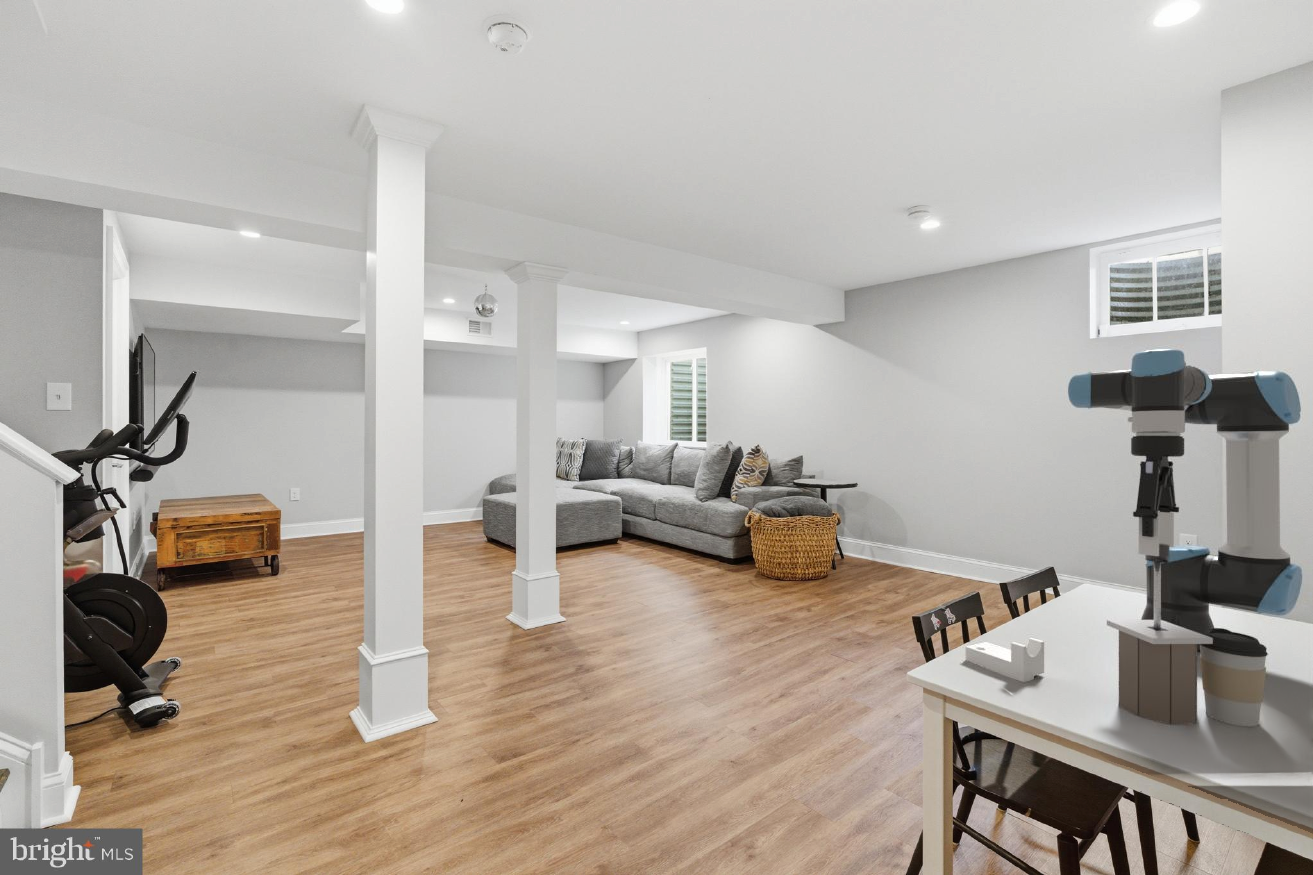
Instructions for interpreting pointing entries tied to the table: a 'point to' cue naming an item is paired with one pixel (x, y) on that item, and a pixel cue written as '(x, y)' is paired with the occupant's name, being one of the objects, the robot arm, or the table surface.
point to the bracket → (1010, 659)
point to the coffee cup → (1233, 676)
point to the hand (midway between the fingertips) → (1156, 550)
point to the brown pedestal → (1158, 670)
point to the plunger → (1158, 581)
